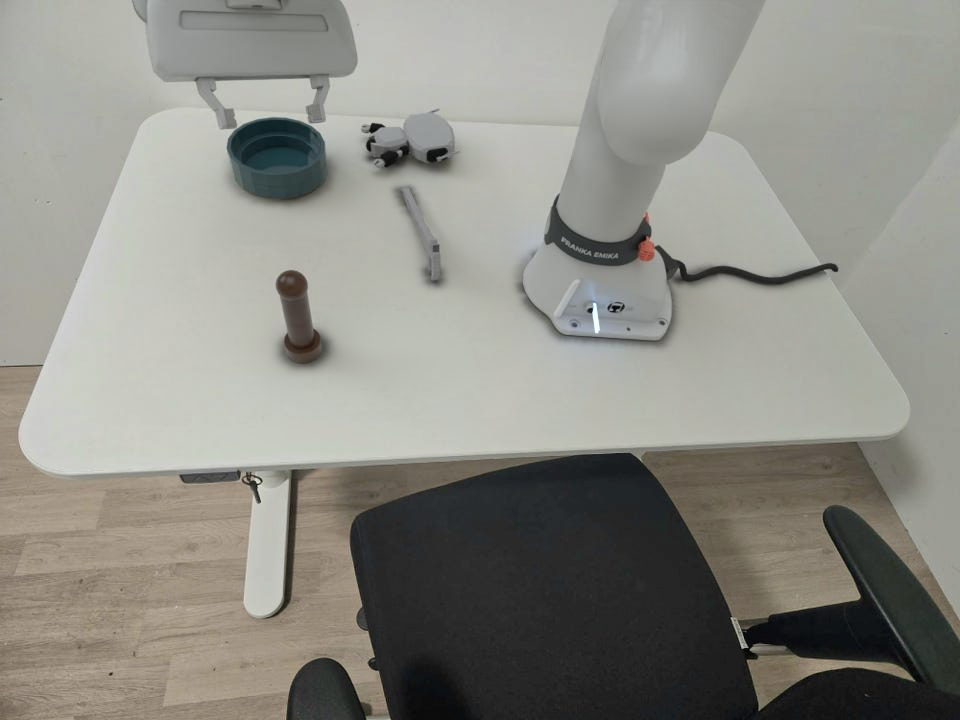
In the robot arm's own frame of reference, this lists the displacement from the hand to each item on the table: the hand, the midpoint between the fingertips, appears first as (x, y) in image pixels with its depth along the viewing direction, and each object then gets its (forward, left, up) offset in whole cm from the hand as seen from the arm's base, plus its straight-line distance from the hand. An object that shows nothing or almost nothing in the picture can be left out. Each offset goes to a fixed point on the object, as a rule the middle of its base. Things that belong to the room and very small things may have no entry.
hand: (274, 125), depth 61 cm
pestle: (-5, +12, -23) cm, 26 cm away
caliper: (-14, -13, -23) cm, 30 cm away
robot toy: (-8, -32, -23) cm, 41 cm away
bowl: (+10, -20, -23) cm, 32 cm away
